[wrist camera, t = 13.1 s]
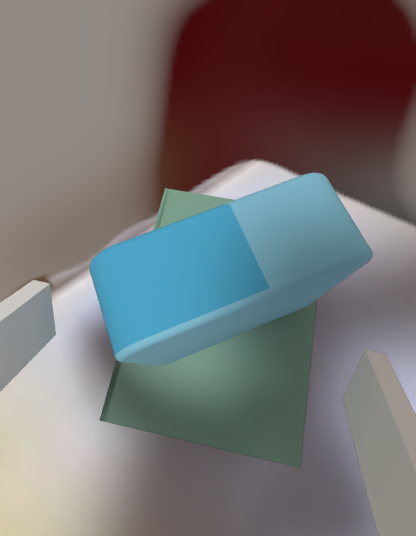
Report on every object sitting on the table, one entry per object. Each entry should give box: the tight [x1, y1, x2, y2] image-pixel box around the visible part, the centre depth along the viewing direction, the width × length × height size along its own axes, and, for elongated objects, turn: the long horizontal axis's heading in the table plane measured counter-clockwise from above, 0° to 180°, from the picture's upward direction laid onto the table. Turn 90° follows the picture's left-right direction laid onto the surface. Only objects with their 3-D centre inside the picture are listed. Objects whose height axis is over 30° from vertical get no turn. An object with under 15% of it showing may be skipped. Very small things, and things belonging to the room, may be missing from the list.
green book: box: [100, 189, 317, 468], centre depth 26 cm, size 14×19×4 cm
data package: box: [90, 173, 373, 366], centre depth 18 cm, size 12×4×12 cm, turn 112°
